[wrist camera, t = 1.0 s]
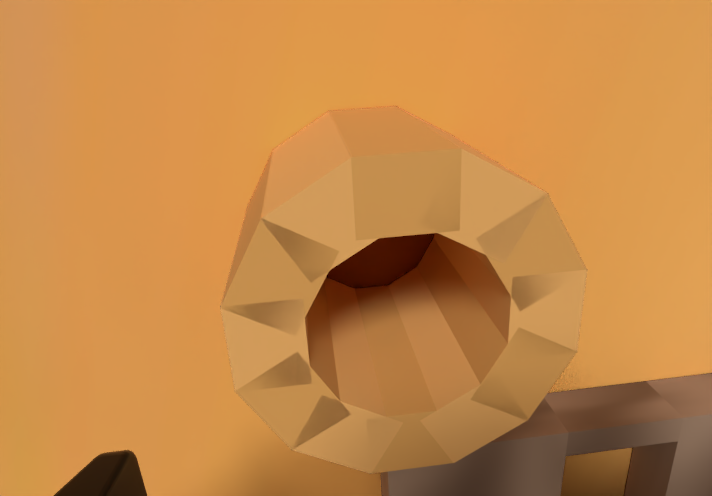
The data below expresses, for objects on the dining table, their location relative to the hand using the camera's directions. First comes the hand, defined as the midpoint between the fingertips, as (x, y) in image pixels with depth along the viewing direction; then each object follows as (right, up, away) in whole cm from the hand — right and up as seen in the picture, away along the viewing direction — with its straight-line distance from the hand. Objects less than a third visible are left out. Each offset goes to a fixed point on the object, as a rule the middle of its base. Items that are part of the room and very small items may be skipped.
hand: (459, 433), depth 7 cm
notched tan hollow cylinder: (-1, +3, +8) cm, 9 cm away
